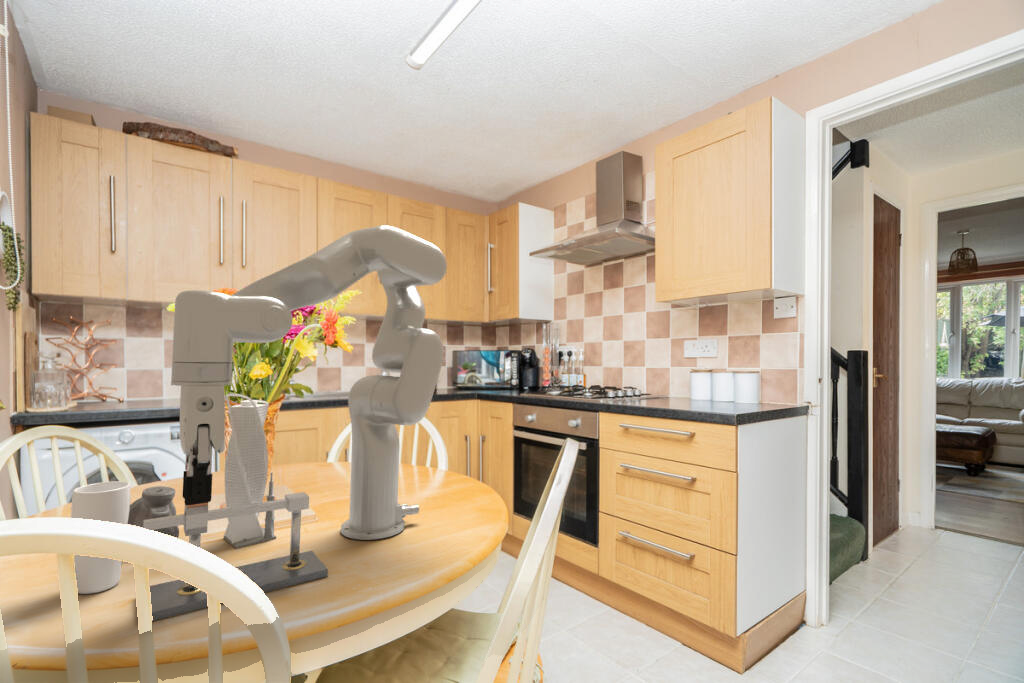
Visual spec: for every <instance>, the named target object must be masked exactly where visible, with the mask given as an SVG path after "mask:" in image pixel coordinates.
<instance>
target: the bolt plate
mask: <svg viewBox="0 0 1024 683" xmlns="http://www.w3.org/2000/svg"><path fill="white" fill-rule="evenodd" d="M235 567H236V568H238V569H239V570H241V571H242V572H243V573H244V574H246V575H247V576H248V577H249V578H250V579H251V580H252V581H253V582H255V583H256V584H257V585H258V586H259V587H260V588H261V589H262V590H263V591H264V592H265V593H269V592H271V591H277V590H281V589H284V588H288V587H292V586H296V585H299V584H304V583H307V582H312V581H315V580H319V579H323V578H328V574H329V573H328V572H329V568H328V567H327V566H326V565H325V563H323V562H322V560H321V559H320V558H319V557H318V556H317V554H316V553H315V552H314V551H313V550H307V551H303V552H299V563H298V564H297V565H291V564H290V554H289V555H285V556H281V557H280V556H279V557H276V558H272V559H271V558H270V559H268V560H261V561H258V562H257V561H256V562H253V563H249V564H248V563H247V564H244V565H239V566H235ZM149 586H150V592H151V604H152V616H153V621H152V622H156V621H159V620H158V619H160V620H164V619H167V617H168V618H171V617H170V616H172V617H175V616H180V615H183V614H186V613H187V614H188V613H191V612H194V611H198V610H202V609H206V608H208V607H207V594H206V593H205V592H203V591H201V590H200V589H198V588H196V587H194V586H192V585H189V584H188V583H185V582H184V581H181V580H179V579H176V580H172V581H171V580H170V581H167V582H163V583H156V584H153V585H149ZM174 615H175V616H174ZM163 618H164V619H163Z"/></svg>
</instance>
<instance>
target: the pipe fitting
mask: <svg viewBox="0 0 1024 683" xmlns="http://www.w3.org/2000/svg"><path fill="white" fill-rule="evenodd" d="M175 496H176V489H175V488H173V487H171V486H170V487H169V486H163V485H162V486H152V487H151V486H150V487H146V488H145V489H143V490H142V493H141V497H140V498H138V499H136V500H135V501H133V502H132V503H130V511H129V518H128V524H131V525H136V526H140V527H143V525H144V520H148V519H154V518H161V517H167V516H174V515H177V509H176V506H175V504H174V502H173V499H174V497H175ZM154 531H158V532H161V533H164V534H168V535H171V536H174V537H177V538H179V536H180V528H179V526H173V527H167V528H161V529H155V530H154Z"/></svg>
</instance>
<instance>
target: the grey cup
mask: <svg viewBox="0 0 1024 683" xmlns="http://www.w3.org/2000/svg"><path fill="white" fill-rule="evenodd" d="M130 505H131V483H130V482H128V481H120V480H119V481H113V480H112V481H102V482H94V483H90V484H85V485H83V486H79V487H76V488H75V489H73V491H72V499H71V506H70V507H71V509H70V510H71V511H70V519H71V518H83V519H93V520H101V521H109V522H116V523H122V524H128V518H129V511H130ZM74 562H75V573H76V580H77V588H78V593H77V594H79V595H80V594H81V595H91V594H96V593H100V592H104V591H107V590H110V589H111V588H113V587H115V586H116V585H118V584H119V582H120V581H121V575H122V564H123V563H122V562H123V560H122V561H118V560H113V559H108V558H99V557H90V556H80V555H75V556H74Z"/></svg>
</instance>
